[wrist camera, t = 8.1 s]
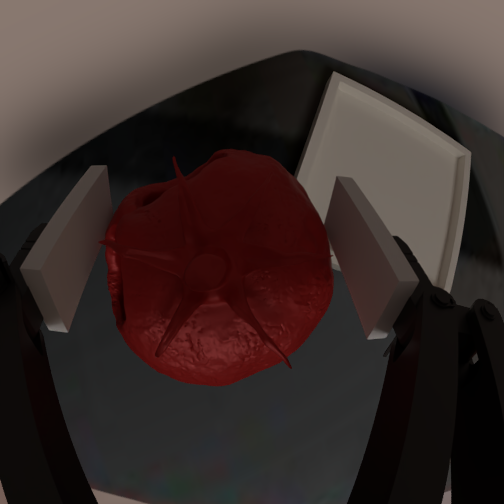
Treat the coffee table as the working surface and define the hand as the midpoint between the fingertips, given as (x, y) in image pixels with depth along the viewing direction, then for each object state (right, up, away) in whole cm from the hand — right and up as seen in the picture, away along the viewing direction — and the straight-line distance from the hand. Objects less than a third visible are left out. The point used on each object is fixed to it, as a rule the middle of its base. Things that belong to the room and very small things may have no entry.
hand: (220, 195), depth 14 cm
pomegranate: (-1, -4, +4) cm, 5 cm away
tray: (+16, +4, +19) cm, 25 cm away
